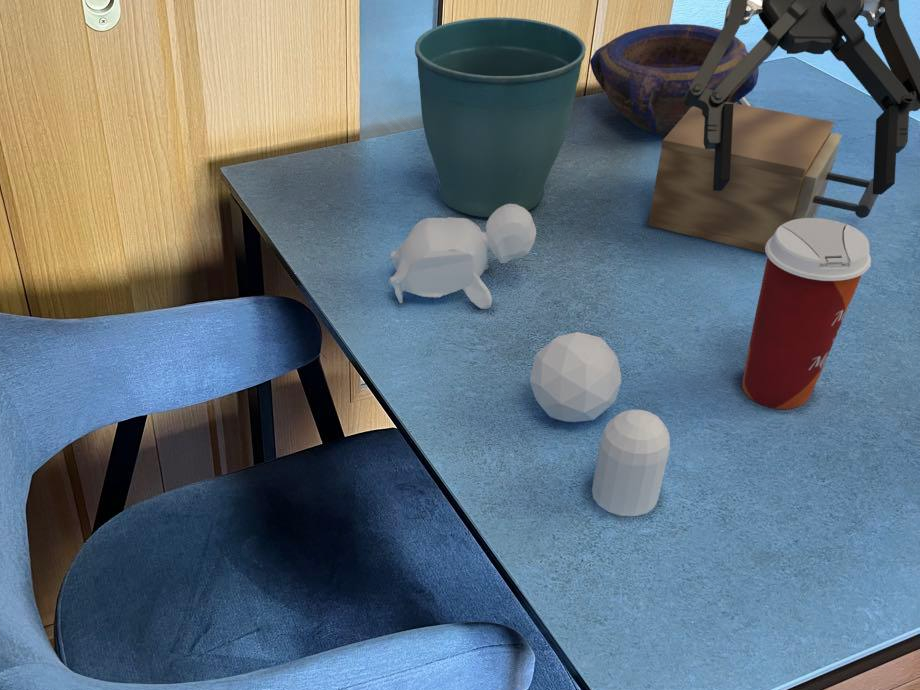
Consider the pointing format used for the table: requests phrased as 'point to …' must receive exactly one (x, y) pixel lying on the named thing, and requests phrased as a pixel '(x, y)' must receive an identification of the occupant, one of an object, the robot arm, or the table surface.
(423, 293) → the white turtle figurine
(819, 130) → the cabinet
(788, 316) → the coffee cup
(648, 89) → the bowl
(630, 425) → the capsule
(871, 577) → the table surface
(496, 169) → the flower pot
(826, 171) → the drawer
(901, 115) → the robot arm
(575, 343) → the geometric ball
